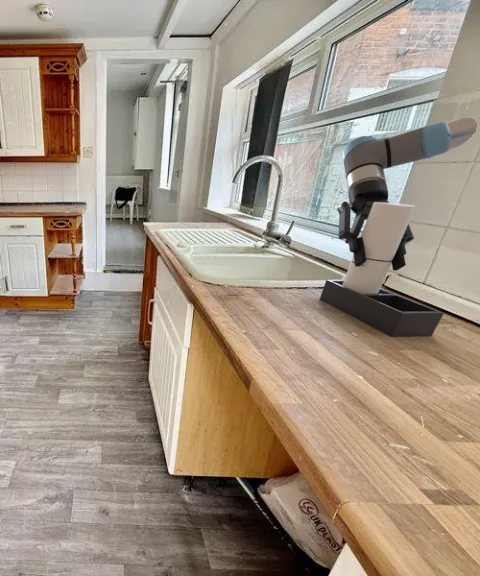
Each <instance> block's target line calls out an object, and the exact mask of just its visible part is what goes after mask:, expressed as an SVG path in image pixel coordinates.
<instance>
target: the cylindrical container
mask: <svg viewBox="0 0 480 576" xmlns="http://www.w3.org/2000/svg"><path fill="white" fill-rule="evenodd" d="M416 207H417V206H416V205H412V204H406V203H395V202H389V203H384V202H374V203H373V206H372V208H371V211H370V213H369V216H368V219H367V220H365V221H366V222H365V224H364V227H363V230H362V232H361V235H360V237H362V238H363V242H364V249H365V256H366V262H364V263H363V264H362V265H360V266H359V267H358V266H355V262H354V254H353V256H352V258H351V261H350V264H349V266H348V269H347V270H346V271H347V272H346V274H345V277H344V279H343V280H344V282H343V284H342V286H344V287H346V288H349V289H351V290H353V291H356V292H358V293H360V294H378V292H379V290H380V288H381V287H382V286H383V283H384V281H385V278H386V276H387V274H388V272H389V269H390V267H391V266H392V260H393V258H394V256H395V253H396V251H397V249H398V246H399V244H400V242H401V239H402V237H403V235H404V233H405V230H406V228H407V226H408V224H410V221H411V219H412V216H413V213H414V211H415V209H416ZM381 289H382V288H381Z"/></svg>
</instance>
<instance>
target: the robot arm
mask: <svg viewBox="0 0 480 576" xmlns="http://www.w3.org/2000/svg"><path fill="white" fill-rule="evenodd" d="M476 127H477V122H475V120H474V119H472V118H464V117H460V118H457V119H455V120H451V121H449V122H443V121H441V122H436V123H433V124H428V125H424V126H422V127H419V128H416V129H412V130H409V131H406V132H404V133H403V132H402V133H400V134H397V135H394V136H390V137H388V138H383V139H379V140H378V138H377V137H376V136H373V135H362V136H358V137H357V138H354V139H352V140H351V141H350V142H348V144H347V145H345V146H344V149H343V152H342V153H343V154H342V157H343V160H342V161H343V167H344V174H345V179H346V180H345V181H346V187H347V194H348V195H347V196H348V201H342V203H340V205H339V206H338V207H337V208H336V210H337V212H338V215H339V218H338V219H339V220H338V222H339V223H338V236H337V237H338V239H340V240H344V243H345V244H347V245H348V247H349V248H348V249H349V252H350V253H353V255H354V262H355V266H358V267H359V266H360V265H362V264H363V263H364V262H366V256H365V249H364V242H363V238H362V237H361V236H360V233H361V231H362V228H363V225H364V223H365V221H367V219H368V216H369V213H370V211H371V208H372V206H373V203H374V202H384V203H390V202H389V190H388V185H387V179H386V175H385V169H391V168H393V167H397V166H401V165H406V164H410V163H414V162H418V161H421V160H425V159H431V158H433V157H436V156H440V155H443V154H445V152H446V153H449V152H451V151H450V150H452V149H454V148H456V147H459V146H460V145H462V144H463V143H464V142H466V141H467V140H468V139H469V138H470V137H472V135H473V134H474V133H475V132H476ZM448 151H449V152H448ZM348 202H349V203H348ZM352 212H353V214H355V216H354V219H353V222H352V226H351V217H352V215H351V213H352ZM414 239H415V237H414V234H413V231H412V228H411V226H410V223H408V226H407V228H406V230H405V233H404V235H403V237H402V239H401V242H400V244H399V246H398V249H397V251H396V253H395V256H394V258H393V260H392V263H391V266H392V271H396V272H397V271H398V270H399V271H400V269H402V268H404V267H406V266H407V263H406V259H405V255H407V249H406V245H407V244H409V243H410V242H411V241H413V240H414Z"/></svg>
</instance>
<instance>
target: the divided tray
mask: <svg viewBox="0 0 480 576" xmlns="http://www.w3.org/2000/svg"><path fill="white" fill-rule="evenodd" d="M343 282H344V279H326V280H325V283H324V285H323V288H322V291H321V294H320V296H319V300H320V301H322V302H324V303H326V304H328V305H330V306H332V307H334V308H335V309H337V310H339V311H341V312H343V313H345V314H347V315H349V316H351V317H353V318H355V319H357V320H359V321H360V322H362V323H365V324H366V325H368V326H370V327H372V328H374V329H375V330H377V331H380V332H382V333H383V334H386V335H387V336H389V337H391V338H395V337H396V338H399V337H400V338H402V337H432V336H433V334H434V332H435V331H436V329H437V327H438V325H439V323H440V322H441V319H442V317H443V316H444V314H445V313H444V312H442V311H440V310H437V309H435V308H432V307H431V306H428V305H424V304H422V303H420V302H417V301H414V300H412V299H409V298H407V297H404V296H402V295H399V294H396V293H394V292H391V291H389V290H386V289H384V288H380V290H379V292H378V294H360V293H358V292H356V291H353V290H351V289H349V288H346V287H344V286H342V284H343Z"/></svg>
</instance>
